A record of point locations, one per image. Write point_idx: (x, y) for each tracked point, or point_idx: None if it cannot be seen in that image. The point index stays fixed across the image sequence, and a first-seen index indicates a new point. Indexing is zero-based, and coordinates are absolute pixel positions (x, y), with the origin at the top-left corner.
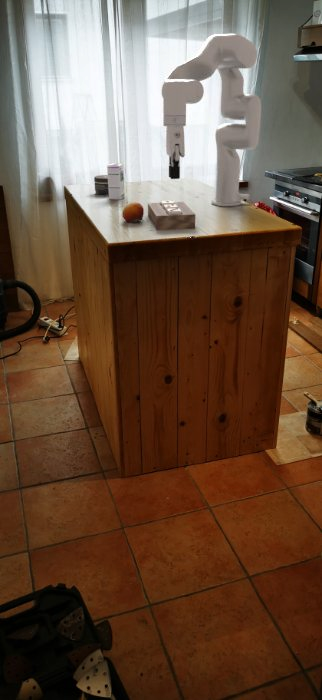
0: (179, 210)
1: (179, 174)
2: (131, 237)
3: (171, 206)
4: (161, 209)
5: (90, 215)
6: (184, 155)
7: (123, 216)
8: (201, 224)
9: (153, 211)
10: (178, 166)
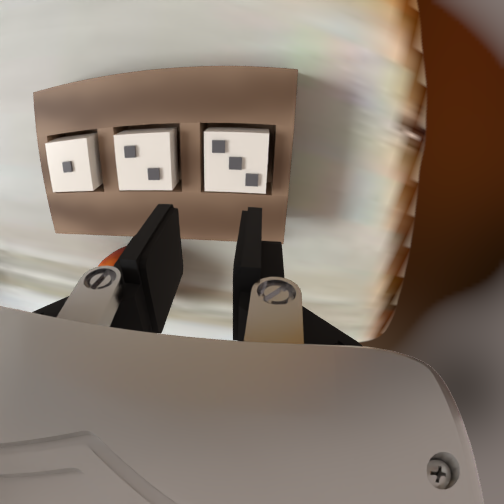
0: (257, 140)
1: (260, 224)
2: (342, 298)
3: (158, 161)
4: (163, 201)
5: None
6: (433, 370)
7: None
8: (228, 30)
9: (198, 239)
10: (292, 295)
